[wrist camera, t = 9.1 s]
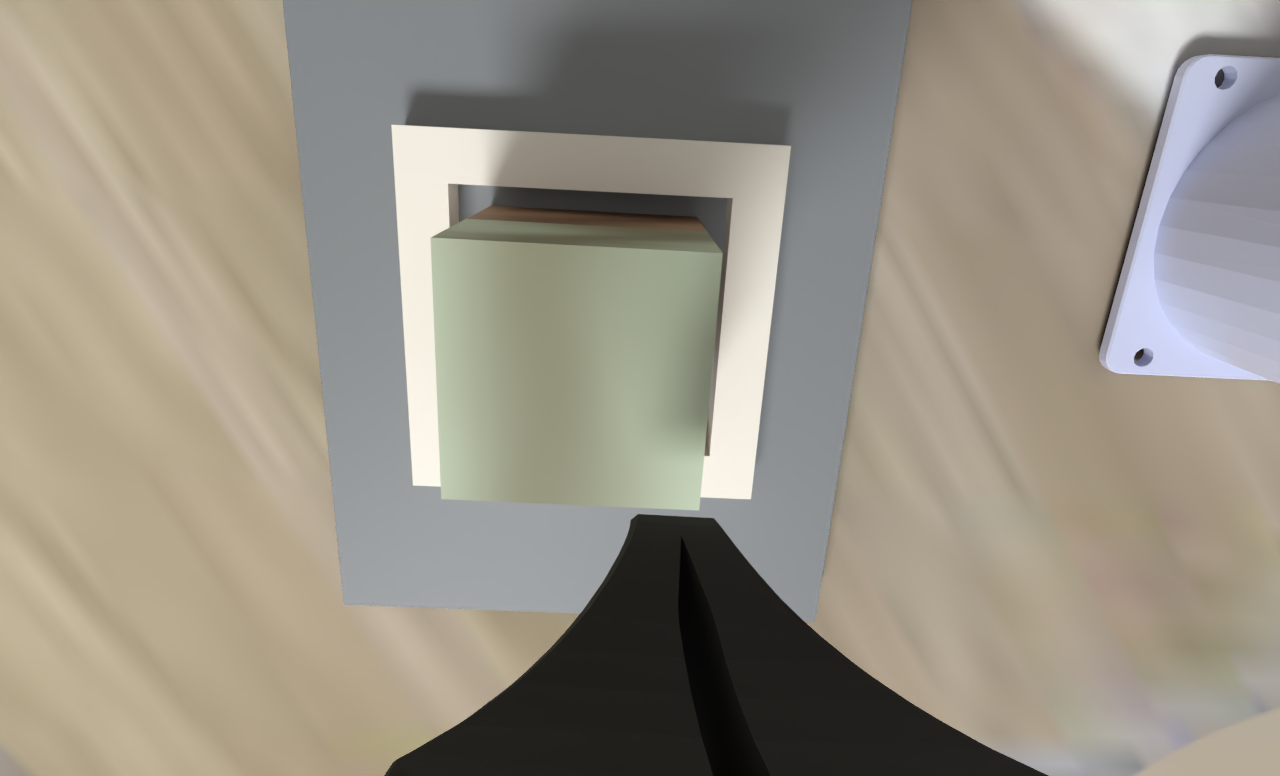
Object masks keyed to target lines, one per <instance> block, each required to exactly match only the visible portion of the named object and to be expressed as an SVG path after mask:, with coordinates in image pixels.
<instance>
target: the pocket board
mask: <svg viewBox="0 0 1280 776" xmlns="http://www.w3.org/2000/svg"><path fill="white" fill-rule="evenodd" d="M912 1H913V0H283V8H284V18H285V28H286V38H287V48H288V58H289V68H290V78H291V88H292V97H293V107H294V117H295V127H296V137H297V147H298V157H299V167H300V176H301V186H302V196H303V206H304V216H305V226H306V236H307V246H308V255H309V265H310V275H311V285H312V295H313V305H314V315H315V325H316V334H317V344H318V354H319V364H320V374H321V384H322V394H323V404H324V413H325V423H326V433H327V443H328V453H329V463H330V473H331V483H332V492H333V502H334V512H335V522H336V532H337V542H338V552H339V562H340V571H341V581H342V591H343V601H344V605H367V606H394V607H421V608H448V609H475V610H502V611H529V612H556V613H581V612H582V611H583V609H584V608H585V607H586V605H587V604H588V602H589V601H590V600H591V598H592V597H593V595H594V594H595V592H596V591H597V590H598V588H599V587H600V585H601V584H602V582H603V581H604V579H605V577H606V576H607V574H608V572H609V570H610V569H611V567H612V565H613V563H614V562H615V560H616V558H617V556H618V555H619V552H620V550H621V548H622V546H623V544H624V542H625V539H626V537H627V534H628V531H629V528H630V521H631V519H632V518H634V517H635V516H636V515H638V514H648V515H666V516H685V517H703V518H714V519H715V520H716V521H717V522H718V523H719V525H720V526H721V527H722V528H723V530H724V531H725V532H726V534H727V535H728V536H729V538H730V539H731V540H732V541H733V543H734V544H735V545H736V547H737V548H738V549H739V550H740V552H741V553H742V554H743V555H744V557H745V558H746V559H747V560H748V562H749V563H750V564H751V565H752V566H753V568H754V569H755V570H756V571H757V572H758V574H759V575H760V576H761V577H762V578H763V579H764V580H765V581H766V583H767V584H768V585H769V586H770V587H771V588H772V589H773V591H774V592H775V593H776V594H777V595H778V596H779V597H780V598H781V599H782V600H783V601H784V602H785V603H786V604H787V605H788V606H789V607H790V608H791V609H792V610H793V611H794V612H795V613H796V614H797V615H798V616H799V617H800V618H801V619H802V620H803V621H804V622H815V620H816V613H817V607H818V600H819V594H820V588H821V581H822V575H823V568H824V562H825V556H826V549H827V543H828V537H829V530H830V524H831V517H832V511H833V505H834V498H835V492H836V486H837V479H838V473H839V466H840V460H841V454H842V447H843V441H844V435H845V428H846V422H847V415H848V409H849V403H850V396H851V390H852V384H853V377H854V371H855V364H856V358H857V352H858V345H859V339H860V332H861V326H862V320H863V313H864V307H865V301H866V294H867V288H868V281H869V275H870V269H871V262H872V256H873V250H874V243H875V237H876V230H877V224H878V218H879V211H880V205H881V199H882V192H883V186H884V179H885V173H886V167H887V160H888V154H889V148H890V141H891V135H892V128H893V122H894V116H895V109H896V103H897V96H898V90H899V84H900V77H901V71H902V65H903V58H904V52H905V45H906V39H907V33H908V26H909V20H910V14H911V7H912ZM491 205H492V206H510V207H528V208H546V209H565V210H583V211H601V212H619V213H638V214H656V215H674V216H692V217H697V218H698V220H699V221H700V222H701V224H702V225H703V227H704V228H705V229H706V231H707V232H708V233H709V235H710V236H711V238H712V239H713V240H714V242H715V243H716V244H717V246H718V247H719V249H720V250H721V251H722V253H723V258H722V268H721V279H720V290H719V301H718V312H717V323H716V334H715V344H714V355H713V366H712V377H711V388H710V399H709V409H708V420H707V431H706V442H705V453H704V464H703V475H702V485H701V496H700V507H699V510H676V509H653V508H631V507H608V506H585V505H563V504H540V503H518V502H495V501H472V500H450V499H441V481H440V457H439V432H438V408H437V384H436V360H435V335H434V311H433V287H432V262H431V237H433V236H434V235H436V234H438V233H440V232H442V231H444V230H446V229H448V228H450V227H451V226H453V225H455V224H457V223H459V222H461V221H463V220H465V219H467V218H468V217H470V216H472V215H474V214H476V213H478V212H480V211H482V210H484V209H485V208H487V207H489V206H491Z"/></svg>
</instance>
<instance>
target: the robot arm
mask: <svg viewBox="0 0 1280 776" xmlns="http://www.w3.org/2000/svg"><path fill="white" fill-rule="evenodd" d="M1220 69H1222V70H1223V72H1224V73H1225V74H1224V81H1223V83H1222V85H1221V86H1220V87H1218V88H1217V87H1216V85H1215V76H1216V74H1217V72H1218V71H1219V70H1220ZM1140 349H1144V354H1143V356H1142V357H1141V359H1139V360H1138V361H1137V362H1134V356H1135V354H1136V352H1138V351H1139V350H1140ZM1099 360H1100V362H1101V365H1103V366H1104V367H1105V368H1106V369H1108V370H1110V371H1112V372H1115V373H1119V374H1140V375H1162V376H1184V377H1205V378H1227V379H1249V380H1271V381H1274V382H1277V383H1279V384H1280V58H1272V57H1254V56H1237V55H1220V54H1207V55H1199V56H1193V57H1191V58H1189V59H1188V60H1186V61H1185V62H1184V63H1183V64H1182V65H1181V66H1180V67H1179V68H1178V70H1177V73H1176V75H1175V77H1174V81H1173V85H1172V88H1171V92H1170V96H1169V99H1168V103H1167V107H1166V110H1165V114H1164V118H1163V121H1162V125H1161V129H1160V132H1159V136H1158V140H1157V143H1156V147H1155V151H1154V154H1153V158H1152V162H1151V165H1150V169H1149V173H1148V176H1147V180H1146V184H1145V187H1144V191H1143V195H1142V198H1141V202H1140V206H1139V209H1138V213H1137V217H1136V220H1135V224H1134V228H1133V231H1132V235H1131V239H1130V242H1129V246H1128V250H1127V253H1126V257H1125V261H1124V264H1123V268H1122V272H1121V275H1120V279H1119V283H1118V286H1117V290H1116V294H1115V297H1114V301H1113V305H1112V308H1111V312H1110V316H1109V319H1108V323H1107V327H1106V330H1105V334H1104V338H1103V341H1102V345H1101V349H1100V354H1099ZM384 776H1048V775H1046V774H1044V773H1041V772H1039V771H1037V770H1035V769H1033V768H1031V767H1029V766H1027V765H1024V764H1022V763H1020V762H1018V761H1016V760H1014V759H1012V758H1010V757H1007V756H1005V755H1003V754H1001V753H999V752H997V751H995V750H993V749H991V748H989V747H987V746H985V745H983V744H981V743H979V742H977V741H976V740H974V739H972V738H970V737H968V736H967V735H965V734H963V733H961V732H960V731H958V730H956V729H954V728H952V727H951V726H949V725H947V724H945V723H943V722H942V721H940V720H938V719H936V718H935V717H933V716H931V715H930V714H928V713H927V712H925V711H923V710H922V709H920V708H918V707H917V706H915V705H913V704H912V703H910V702H909V701H907V700H906V699H904V698H903V697H901V696H900V695H898V694H897V693H895V692H894V691H892V690H891V689H889V688H888V687H886V686H885V685H883V684H882V683H880V682H879V681H878V680H876V679H875V678H873V677H872V676H870V675H869V674H868V673H866V672H865V671H864V670H862V669H861V668H859V667H858V666H857V665H855V664H854V663H853V662H851V661H850V660H849V659H848V658H847V657H845V656H844V655H843V654H842V653H840V652H839V651H838V650H837V649H835V648H834V647H833V646H832V645H831V644H829V643H828V642H827V641H826V640H824V639H823V638H822V637H821V636H820V635H819V634H817V633H816V632H815V631H814V630H813V629H812V628H811V627H810V626H808V625H807V624H806V623H805V622H804V621H803V620H802V619H801V618H800V617H799V616H798V615H797V614H796V613H795V612H794V611H793V610H792V609H791V608H790V607H789V606H788V605H787V604H786V603H785V602H784V601H783V600H782V599H781V598H780V597H779V596H778V595H777V594H776V593H775V592H774V591H773V589H772V588H771V587H770V586H769V585H768V584H767V583H766V581H765V580H764V579H763V578H762V577H761V576H760V575H759V574H758V572H757V571H756V570H755V569H754V568H753V566H752V565H751V564H750V563H749V562H748V560H747V559H746V558H745V557H744V555H743V554H742V553H741V552H740V550H739V549H738V548H737V547H736V545H735V544H734V543H733V541H732V540H731V539H730V538H729V536H728V535H727V534H726V532H725V531H724V530H723V528H722V527H721V526H720V525H719V523H718V522H717V521H716V520H715V519H714V518H703V517H685V516H666V515H648V514H638V515H636V516H635V517H634V518H632V519H631V521H630V528H629V531H628V534H627V537H626V539H625V542H624V544H623V546H622V548H621V550H620V552H619V555H618V556H617V558H616V560H615V562H614V563H613V565H612V567H611V569H610V570H609V572H608V574H607V576H606V577H605V579H604V581H603V582H602V584H601V585H600V587H599V588H598V590H597V591H596V592H595V594H594V595H593V597H592V598H591V600H590V601H589V602H588V604H587V605H586V607H585V608H584V609H583V611H582V612H581V613H580V615H579V616H578V617H577V618H576V620H575V621H574V622H573V623H572V625H571V626H570V627H569V628H568V629H567V631H566V632H565V633H564V634H563V635H562V636H561V637H560V638H559V639H558V641H557V642H556V643H555V644H554V645H553V646H552V647H551V648H550V649H549V650H548V651H547V652H546V653H545V654H544V655H543V656H542V657H541V658H540V659H539V660H538V661H537V662H536V663H535V664H534V665H533V666H532V667H531V668H530V669H529V670H527V671H526V672H525V673H524V674H523V675H522V676H521V677H520V678H519V679H517V680H516V681H515V682H514V683H513V684H512V685H510V686H509V687H508V688H507V689H506V690H504V691H503V692H502V693H500V694H499V695H498V696H496V697H495V698H494V699H492V700H491V701H490V702H488V703H487V704H486V705H484V706H483V707H482V708H481V709H479V710H478V711H477V712H475V713H474V714H473V715H471V716H470V717H469V718H467V719H466V720H464V721H463V722H461V723H460V724H458V725H456V726H455V727H453V728H451V729H450V730H448V731H446V732H444V733H443V734H441V735H439V736H438V737H436V738H434V739H433V740H431V741H429V742H427V743H426V744H424V745H422V746H421V747H419V748H417V749H415V750H414V751H412V752H410V753H408V754H406V755H405V756H403V757H401V758H399V759H397V760H396V761H395V762H393V764H392V765H391V766H390V768H389V769H388V771H387V772H386V774H385V775H384Z"/></svg>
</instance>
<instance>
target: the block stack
mask: <svg viewBox="0 0 1280 776" xmlns="http://www.w3.org/2000/svg"><path fill="white" fill-rule="evenodd" d="M722 258H723V253H722V251H721V250H720V249H719V247H718V246H717V244H716V243H715V242H714V240H713V239H712V238H711V236H710V235H709V233H708V232H707V231H706V229H705V228H704V227H703V225H702V224H701V222H700V221H699V220H698V218H697V217H692V216H674V215H656V214H638V213H619V212H601V211H583V210H565V209H546V208H528V207H510V206H492V205H491V206H489V207H487V208H485V209H484V210H482V211H480V212H478V213H476V214H474V215H472V216H470V217H468V218H467V219H465V220H463V221H461V222H459V223H457V224H455V225H453V226H451V227H450V228H448V229H446V230H444V231H442V232H440V233H438V234H436V235H434V236H433V237H431V262H432V287H433V311H434V335H435V360H436V384H437V408H438V432H439V457H440V481H441V499H450V500H472V501H495V502H518V503H540V504H563V505H585V506H608V507H631V508H653V509H676V510H699V507H700V496H701V485H702V475H703V464H704V453H705V442H706V431H707V420H708V409H709V399H710V388H711V377H712V366H713V355H714V344H715V334H716V323H717V312H718V301H719V290H720V279H721V268H722Z"/></svg>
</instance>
